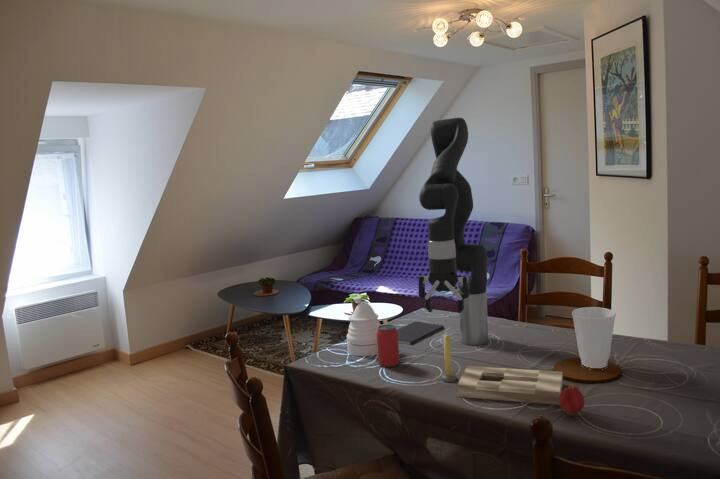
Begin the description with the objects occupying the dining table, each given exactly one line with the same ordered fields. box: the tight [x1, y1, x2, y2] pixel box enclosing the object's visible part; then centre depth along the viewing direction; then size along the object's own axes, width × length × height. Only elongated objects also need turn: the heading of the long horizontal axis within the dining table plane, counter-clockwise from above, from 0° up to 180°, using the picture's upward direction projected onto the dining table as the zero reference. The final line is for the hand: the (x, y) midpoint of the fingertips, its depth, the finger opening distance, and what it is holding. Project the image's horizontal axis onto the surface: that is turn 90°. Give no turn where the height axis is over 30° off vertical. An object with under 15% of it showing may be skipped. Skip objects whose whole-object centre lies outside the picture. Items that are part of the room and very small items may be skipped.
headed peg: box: [440, 334, 457, 383], centre depth 175 cm, size 4×4×13 cm
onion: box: [559, 383, 585, 417], centre depth 148 cm, size 6×6×8 cm
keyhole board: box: [456, 365, 564, 406], centre depth 165 cm, size 14×26×3 cm, turn 69°
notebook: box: [396, 321, 445, 346], centre depth 221 cm, size 13×2×21 cm
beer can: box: [377, 324, 400, 368], centre depth 191 cm, size 7×7×12 cm
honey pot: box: [346, 296, 382, 357], centre depth 206 cm, size 13×13×18 cm
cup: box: [571, 306, 616, 368], centre depth 178 cm, size 12×12×16 cm
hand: (445, 311), depth 173 cm, fingers open, 8 cm apart
